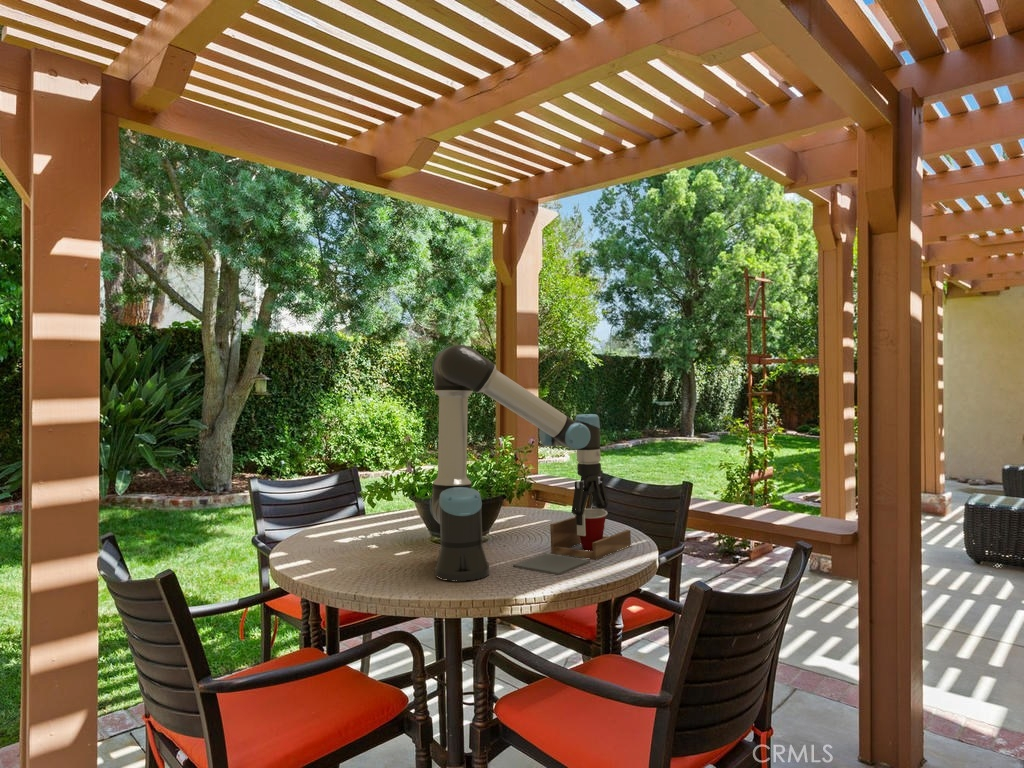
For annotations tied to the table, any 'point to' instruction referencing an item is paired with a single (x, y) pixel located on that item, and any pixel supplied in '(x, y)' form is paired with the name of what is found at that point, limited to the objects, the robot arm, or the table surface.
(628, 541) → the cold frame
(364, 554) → the table surface
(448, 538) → the robot arm
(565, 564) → the mat
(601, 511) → the plastic cup
